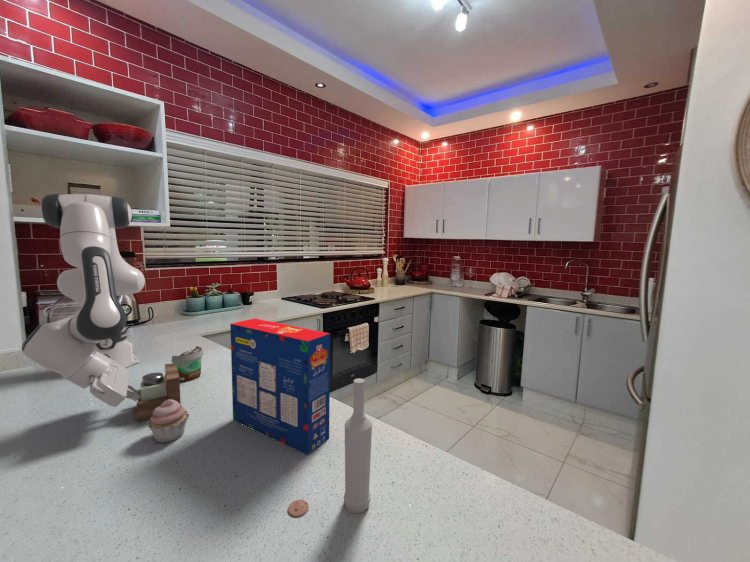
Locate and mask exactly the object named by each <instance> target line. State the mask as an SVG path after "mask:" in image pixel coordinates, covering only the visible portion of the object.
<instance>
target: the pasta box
mask: <svg viewBox="0 0 750 562" xmlns="http://www.w3.org/2000/svg"><path fill="white" fill-rule="evenodd" d="M330 351H331V333H330V332H329V333H328V332H323V331H320V330H319V331H318V330H314V329H309V328H305V327H299V326H294V325H290V324H285V323H279V322H274V321H269V320H264V319H260V318H254V317H253V318H251V319H246V320H241V321H237V322H232V323H230V352H231V353H230V358H231V361H230V362H231V389H232V391H231V392H232V393H231V395H232V421H233V420H234V421H233V422H235V421H237V422H239V423H241V424H243V425H245V426H244V427H246V426H247V427H246V428H248V427H249V428H248V429H250V428H252V429H254V430H255V431H254V430H253V431H254V432H256V431H258V432H257V433H259V432H260V433H259V434H261V433H262V434H261V435H263V434H264V435H263V436H265V435H267V436H268V437H267V436H266V437H267V438H269V437H270V439H272V438H273V439H272V440H274V439H275V440H274V441H276V442H278V441H279V442H278V443H280V442H281V444H283V445H285V446H286V447H289V448H291V449H293V448H294V449H293V450H295V451H298V452H300V453H302V454H305V455H306V454H307V456H309V455H310V454H311V453H313V452H314V451H315V450H317V449H318V448H319V447H321V446H322V445H323V444H324V443H326V442H327V441H328V440H329V439H330V402H331V401H330V398H331V397H330V392H331V391H330V386H331V385H330V384H331V383H330V382H331V381H330V380H331V378H330V377H331V376H330V375H331V372H330V371H331V352H330ZM237 422H236V423H237ZM239 423H238V424H239ZM241 424H240V425H241ZM243 425H242V426H243ZM252 429H251V430H252Z"/></svg>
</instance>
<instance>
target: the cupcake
mask: <svg viewBox="0 0 750 562" xmlns="http://www.w3.org/2000/svg"><path fill="white" fill-rule="evenodd" d="M189 417H190V413H188V410H186V409H185V407H184V406H183V404H182V403H181V404H179V403H178V402H177V401H175V400H170V399H168V400H166V401H165V402H163V403H162V404H161V406H159V407H157V408H156V409H154V411H153V416H152V417H151V418H150V419H149V421H147V423H146V424H147V425H148V426H147V427H148V429H149V430H150V432H152V436H153V439H154V440H155V441H156V442H157V443H160V444H162V443H163V444H165V443H170V442H174V441H176V440H178V439H179V438H181V437H182V436H183V435H184V433H185V429H186V424H187V421H188V419H189Z"/></svg>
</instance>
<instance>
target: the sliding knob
mask: <svg viewBox="0 0 750 562" xmlns="http://www.w3.org/2000/svg"><path fill="white" fill-rule="evenodd" d="M139 389H140V391H141V401H145V400H150V399H155V398H160V397H165V396H167V395H166V383H165V375H164V374H163V373H162V372H152V373H147V374H145V375H143V376H142V379H141V380H140V387H139Z"/></svg>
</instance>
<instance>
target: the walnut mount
mask: <svg viewBox="0 0 750 562" xmlns="http://www.w3.org/2000/svg"><path fill="white" fill-rule="evenodd" d="M164 370H165V371H164V376H165V383H166V396H165V397H160V398H155V399H150V400H145V401H141V391H140V388H139V389H137V390H138V391H139V392H140V398H139V399H138V400H137V401H136V406H135V407H134V412H133V421H135V420H136V421H137V423H138V422H143V421H147V420H151V419H150V418H151V417H152V416H153V411H154V409H156V408H157V407H159V406H161V404H162V403H163V402H165V401H166V400H168V399H170V400H175V401H177V402H178V403H179V404H181V405H182V403H181V386H180V384H181V382H180V380H179V374H178V369H177V365H176V363H173V362H171V363H165V364H164Z"/></svg>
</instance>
